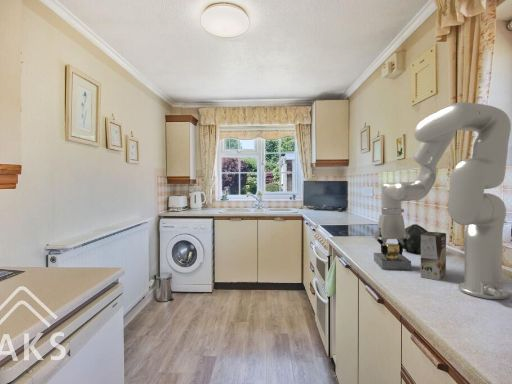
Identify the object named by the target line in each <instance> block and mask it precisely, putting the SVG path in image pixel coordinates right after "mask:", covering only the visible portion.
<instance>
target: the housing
mask: <svg viewBox="0 0 512 384" xmlns="http://www.w3.org/2000/svg"><path fill="white" fill-rule="evenodd" d="M373 261H374V262H375V263H376V265H378V267H379V268H380V269H381V270H386V271H387V270H393V271H395V270H398V271H412V261H411V260H410V259H408V258H407V257H406V256H405V255H403V254H402V255H400V254H398V258H386V255H384V254H382V252H373Z"/></svg>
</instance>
